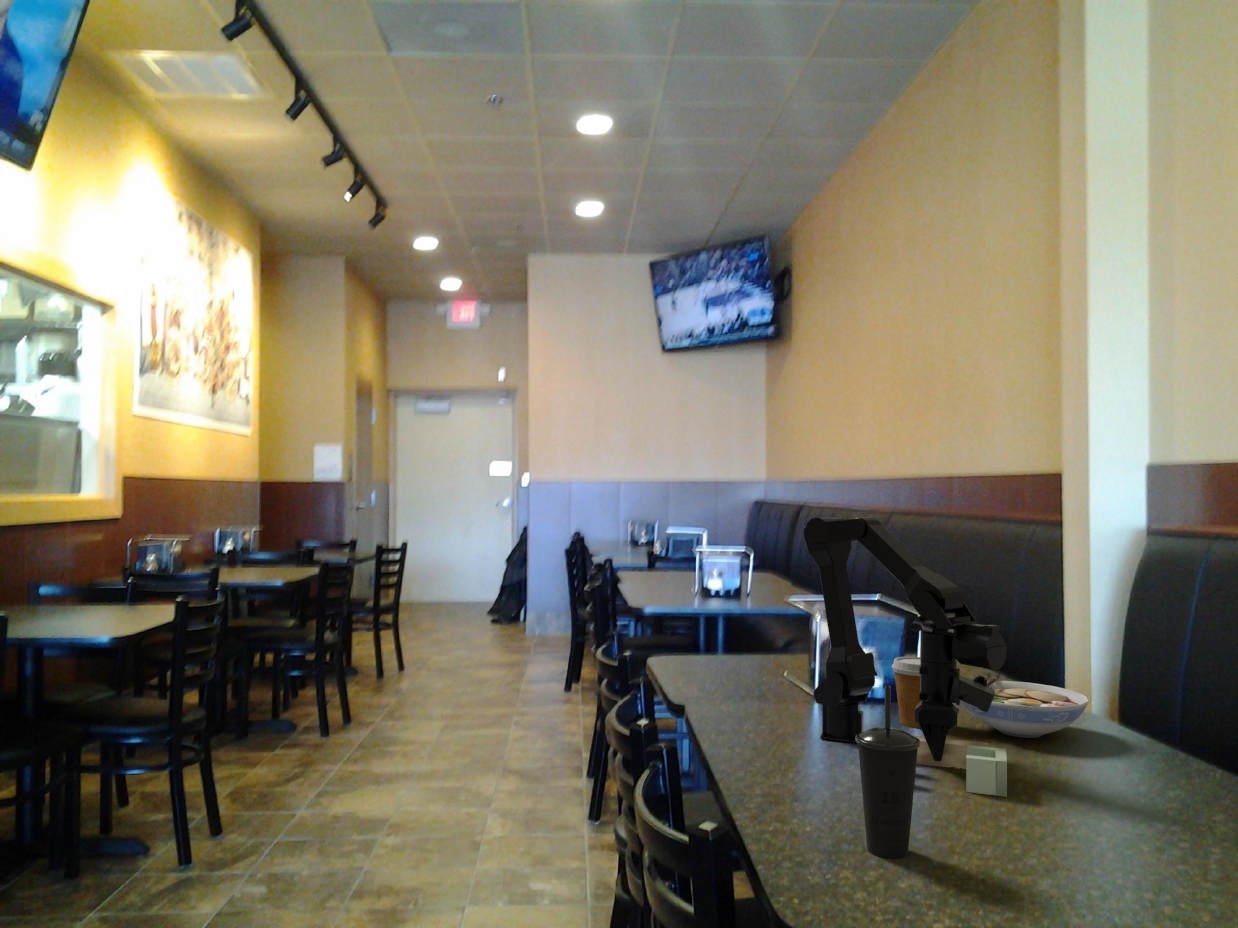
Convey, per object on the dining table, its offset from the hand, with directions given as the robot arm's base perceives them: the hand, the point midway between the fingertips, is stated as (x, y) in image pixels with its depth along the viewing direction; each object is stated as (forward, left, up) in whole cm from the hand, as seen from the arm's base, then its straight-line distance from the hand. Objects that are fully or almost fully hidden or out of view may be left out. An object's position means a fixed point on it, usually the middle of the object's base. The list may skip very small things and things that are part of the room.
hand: (938, 756), depth 152 cm
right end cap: (+7, -10, -1) cm, 12 cm away
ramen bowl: (+13, +27, -1) cm, 30 cm away
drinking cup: (-4, -42, -1) cm, 42 cm away
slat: (0, 0, -1) cm, 1 cm away
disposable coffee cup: (-5, +26, -1) cm, 27 cm away
